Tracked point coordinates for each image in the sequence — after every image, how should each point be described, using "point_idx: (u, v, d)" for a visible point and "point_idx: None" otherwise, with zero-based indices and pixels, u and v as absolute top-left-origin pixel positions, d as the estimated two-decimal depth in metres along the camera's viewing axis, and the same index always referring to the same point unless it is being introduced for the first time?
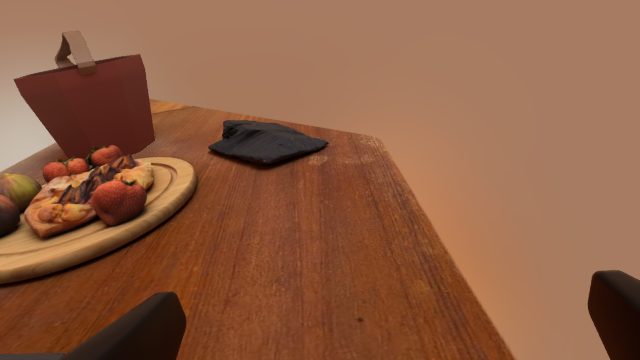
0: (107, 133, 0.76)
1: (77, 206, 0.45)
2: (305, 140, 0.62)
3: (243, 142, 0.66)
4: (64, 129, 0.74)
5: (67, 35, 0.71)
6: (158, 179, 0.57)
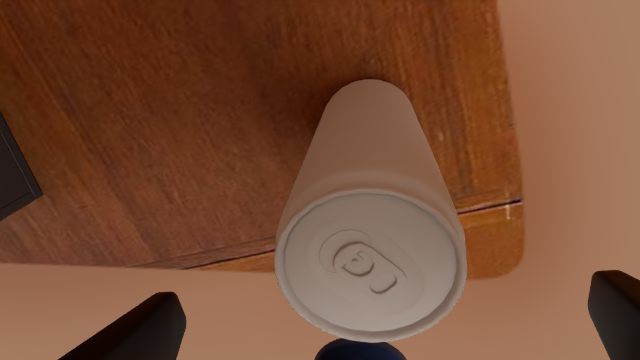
0: None
1: None
2: None
3: None
4: None
5: None
6: None
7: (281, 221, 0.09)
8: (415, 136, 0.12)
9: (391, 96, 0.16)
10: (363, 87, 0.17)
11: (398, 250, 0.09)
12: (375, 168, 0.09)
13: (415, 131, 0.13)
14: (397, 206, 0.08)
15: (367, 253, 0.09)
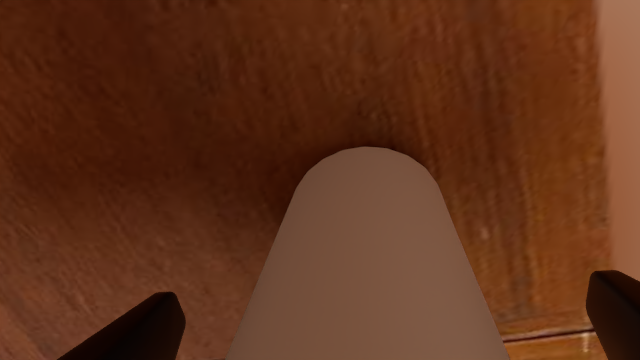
0: None
1: None
2: None
3: None
4: None
5: None
6: None
7: None
8: None
9: (411, 199, 0.08)
10: (357, 171, 0.09)
11: None
12: None
13: (482, 342, 0.05)
14: None
15: None
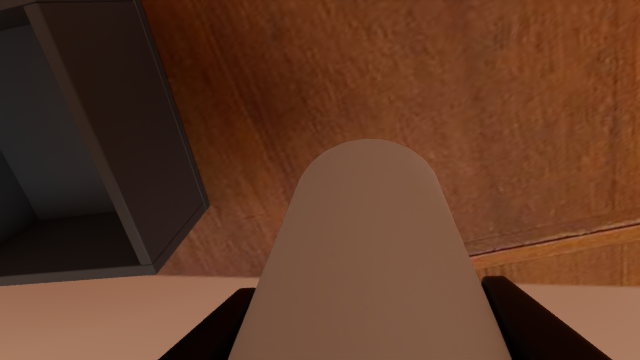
0: None
1: None
2: None
3: None
4: None
5: None
6: None
7: None
8: (482, 347, 0.05)
9: (410, 187, 0.09)
10: (359, 162, 0.10)
11: None
12: None
13: (475, 313, 0.06)
14: None
15: None
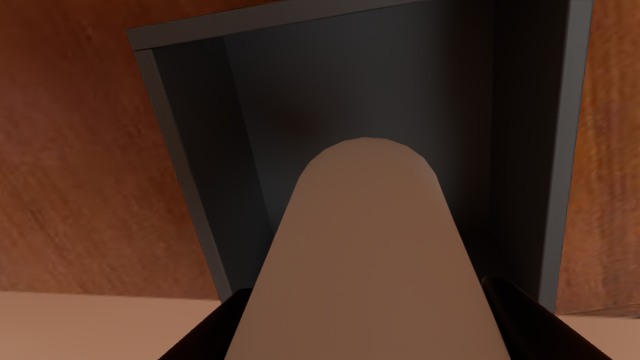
0: None
1: None
2: None
3: None
4: None
5: None
6: None
7: None
8: (480, 346, 0.05)
9: (409, 185, 0.09)
10: (358, 160, 0.10)
11: None
12: None
13: (473, 312, 0.06)
14: None
15: None
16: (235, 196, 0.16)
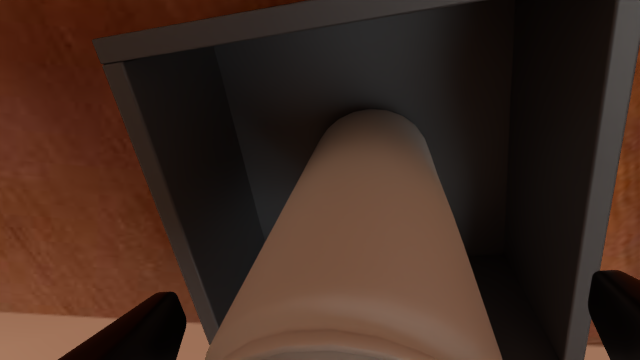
0: None
1: None
2: None
3: None
4: None
5: None
6: None
7: None
8: (431, 203, 0.08)
9: (399, 135, 0.12)
10: (364, 121, 0.13)
11: None
12: (360, 291, 0.05)
13: (431, 193, 0.09)
14: None
15: None
16: (225, 221, 0.14)
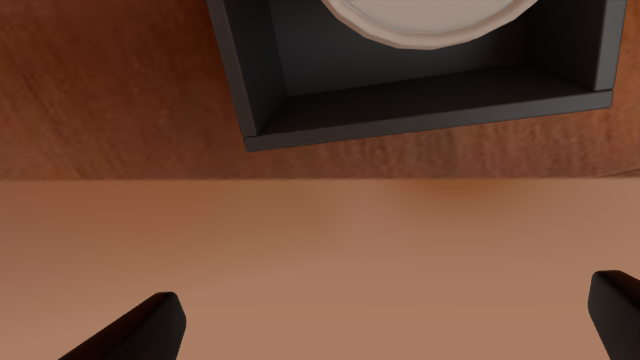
0: None
1: None
2: None
3: None
4: None
5: None
6: None
7: None
8: None
9: None
10: None
11: None
12: None
13: None
14: None
15: None
16: None
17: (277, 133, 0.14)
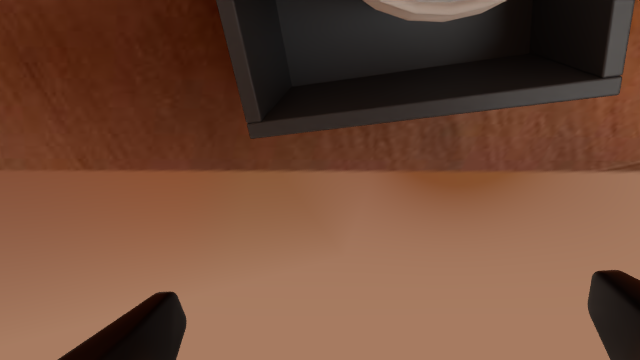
0: None
1: None
2: None
3: None
4: None
5: None
6: None
7: None
8: None
9: None
10: None
11: None
12: None
13: None
14: None
15: None
16: None
17: (282, 119, 0.14)
